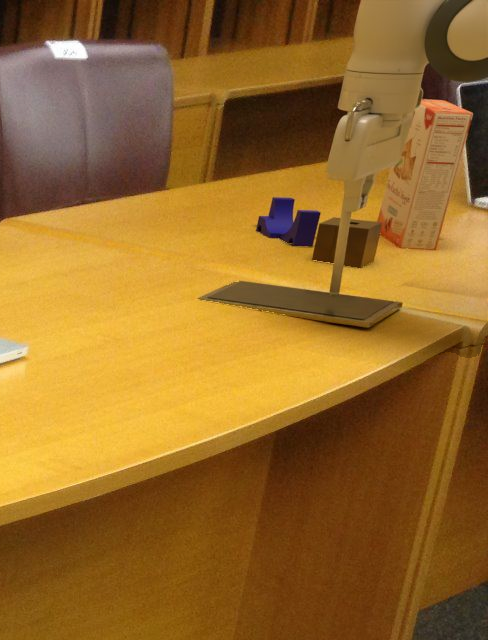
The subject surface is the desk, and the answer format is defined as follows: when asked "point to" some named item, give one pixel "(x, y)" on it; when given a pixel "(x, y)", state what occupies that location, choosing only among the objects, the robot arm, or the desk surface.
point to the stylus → (340, 252)
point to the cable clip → (289, 223)
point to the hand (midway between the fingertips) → (353, 209)
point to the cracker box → (424, 175)
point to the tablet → (305, 303)
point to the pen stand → (348, 242)
